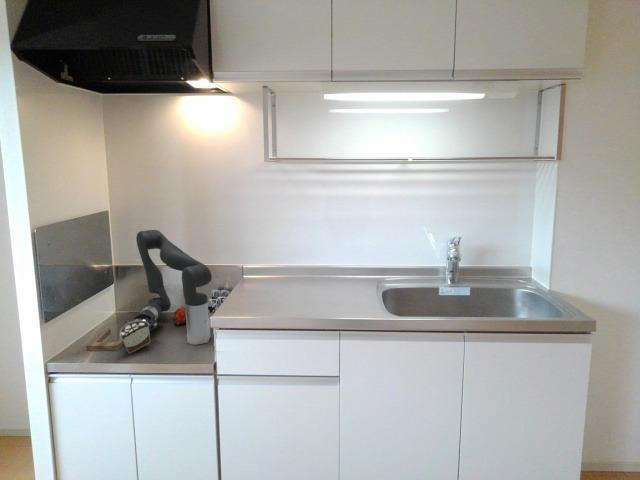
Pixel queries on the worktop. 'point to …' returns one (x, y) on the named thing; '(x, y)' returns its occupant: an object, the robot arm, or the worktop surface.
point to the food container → (135, 335)
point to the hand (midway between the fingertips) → (132, 332)
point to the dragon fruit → (180, 316)
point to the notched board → (103, 343)
